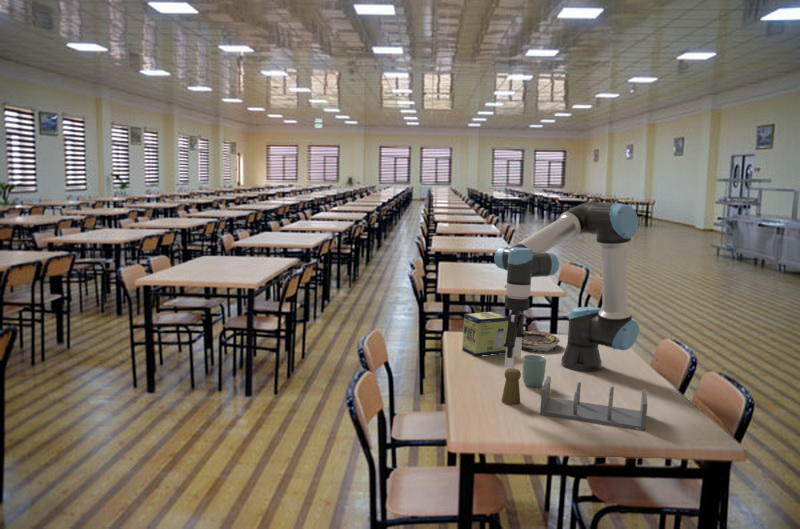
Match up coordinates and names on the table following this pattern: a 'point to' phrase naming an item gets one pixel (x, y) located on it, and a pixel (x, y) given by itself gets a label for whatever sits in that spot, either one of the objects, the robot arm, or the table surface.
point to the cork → (511, 387)
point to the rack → (593, 409)
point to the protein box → (484, 333)
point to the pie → (539, 341)
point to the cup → (533, 370)
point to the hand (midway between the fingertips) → (512, 361)
